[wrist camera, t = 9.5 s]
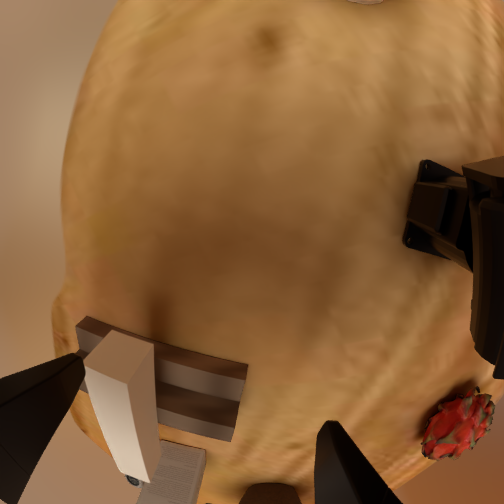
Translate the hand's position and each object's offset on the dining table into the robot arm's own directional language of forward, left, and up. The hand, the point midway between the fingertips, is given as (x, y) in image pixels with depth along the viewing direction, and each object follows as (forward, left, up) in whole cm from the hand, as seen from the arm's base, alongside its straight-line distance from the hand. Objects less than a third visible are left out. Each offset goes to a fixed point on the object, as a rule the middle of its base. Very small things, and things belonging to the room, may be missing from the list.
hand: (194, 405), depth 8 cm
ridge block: (+6, +12, -12) cm, 18 cm away
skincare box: (+3, +27, -12) cm, 30 cm away
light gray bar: (+6, +12, -7) cm, 15 cm away
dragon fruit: (-28, +13, -12) cm, 33 cm away
